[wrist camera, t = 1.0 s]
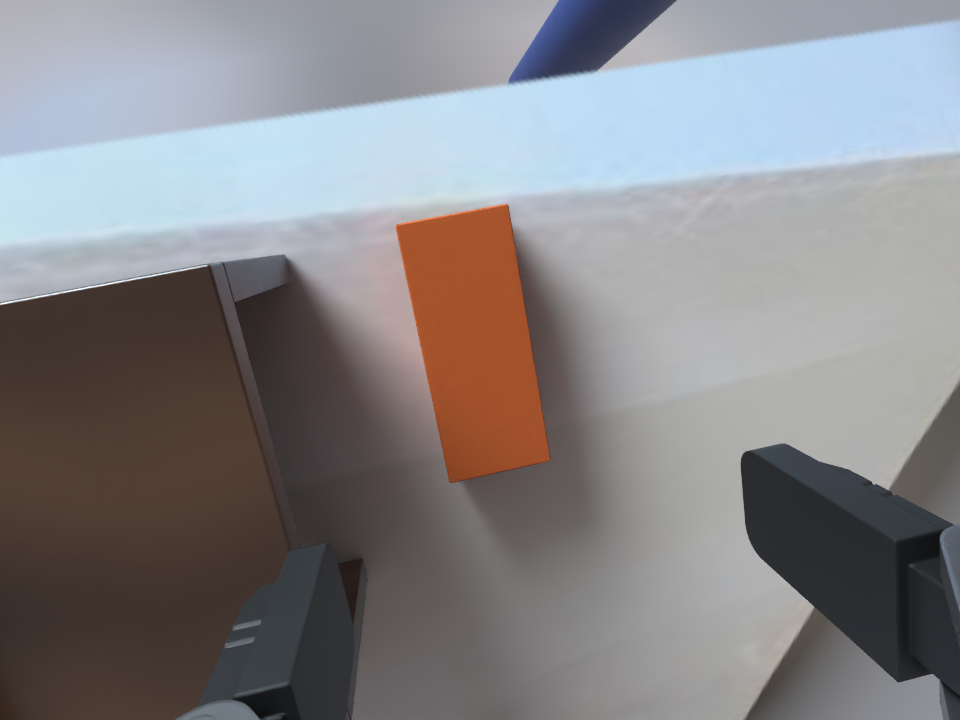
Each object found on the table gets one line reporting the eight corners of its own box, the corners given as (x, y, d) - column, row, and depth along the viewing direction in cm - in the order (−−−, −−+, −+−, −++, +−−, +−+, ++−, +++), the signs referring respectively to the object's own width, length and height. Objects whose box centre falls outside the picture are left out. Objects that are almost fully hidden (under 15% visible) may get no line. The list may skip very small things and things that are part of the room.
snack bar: (396, 226, 26) (395, 224, 23) (496, 207, 26) (508, 203, 23) (445, 458, 28) (449, 483, 25) (536, 438, 28) (551, 461, 25)
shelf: (-5, 308, 24) (-419, 378, 12) (285, 254, 25) (172, 268, 13) (117, 638, 28) (-108, 948, 16) (368, 579, 29) (340, 828, 17)
